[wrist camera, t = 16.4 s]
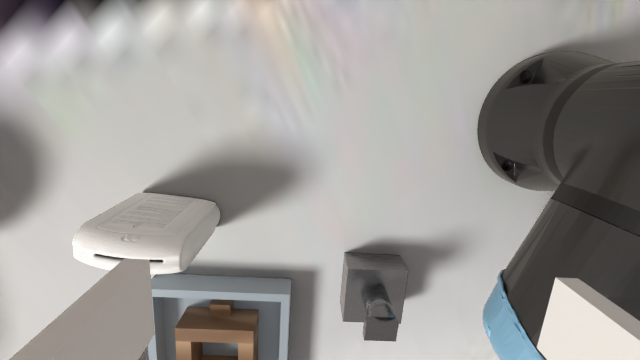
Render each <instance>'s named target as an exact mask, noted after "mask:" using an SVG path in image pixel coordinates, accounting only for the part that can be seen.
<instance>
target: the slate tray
mask: <svg viewBox="0 0 640 360" xmlns="http://www.w3.org/2000/svg"><path fill="white" fill-rule="evenodd" d="M291 280H292V279H285V278H261V277H238V276H214V275H190V274H156V275H155V276H154V277H153V278H152V279H151V289H152V303H153V317H154V331H155V335H154V336H153V338H152V339H151V341H150V342H149V344H148V356H149V360H177V359H176V341H175V327H176V325H177V324H178V322H179V320H180V318H181V317H182V315H183V313H184V312H185V310H186V308H187V307H208V308H210V303H211V301H212V299H222V300H233V308H234V309H259V321H258V360H288V345H289V324H290V302H291ZM202 345H203V355H220V356H238V343H216V342H202Z"/></svg>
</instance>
